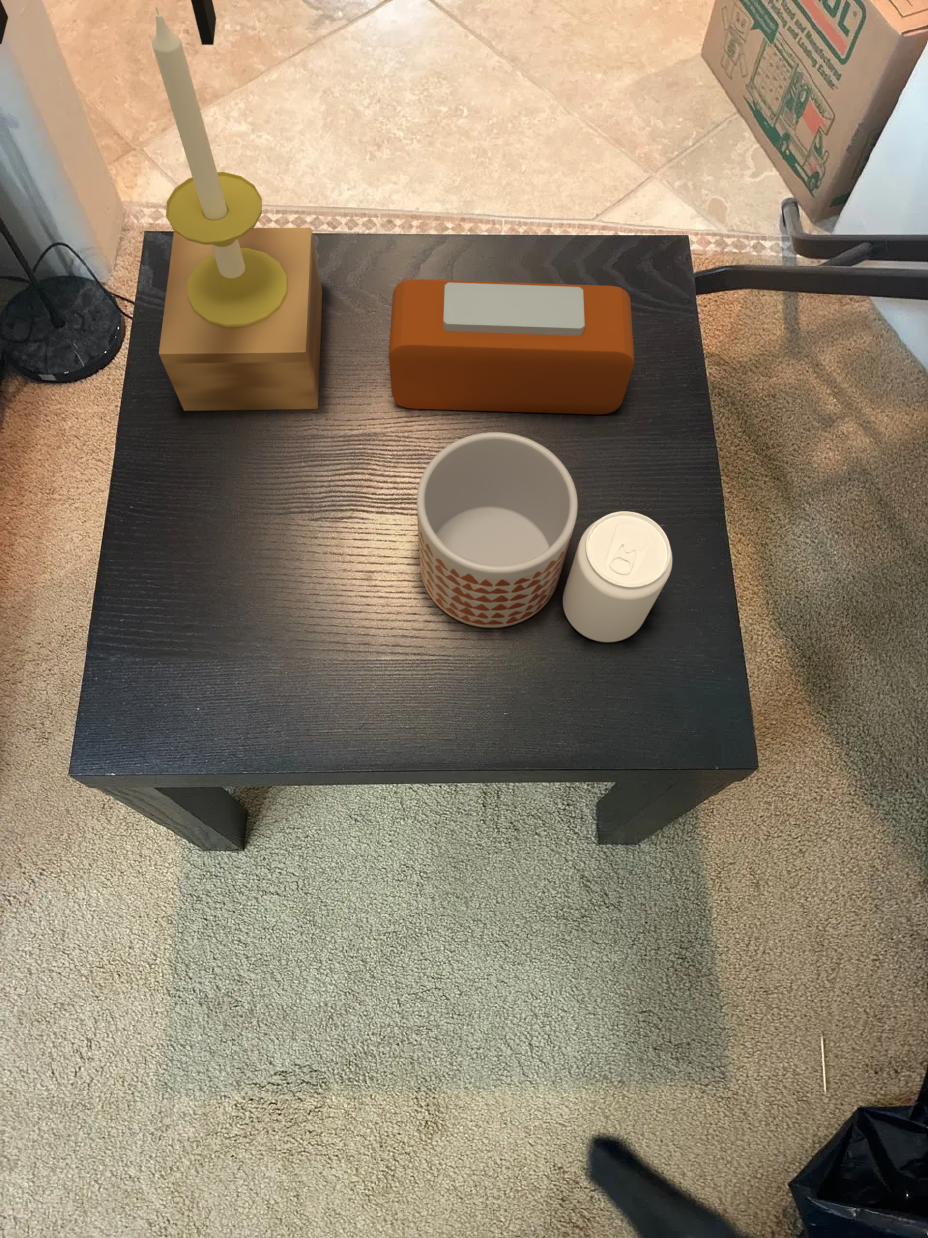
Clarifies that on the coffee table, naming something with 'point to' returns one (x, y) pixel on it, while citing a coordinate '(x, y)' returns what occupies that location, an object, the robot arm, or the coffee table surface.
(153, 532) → the coffee table surface
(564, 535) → the planter
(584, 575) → the beverage can
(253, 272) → the candle
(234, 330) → the lidded tan carton
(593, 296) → the alarm clock
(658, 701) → the coffee table surface
